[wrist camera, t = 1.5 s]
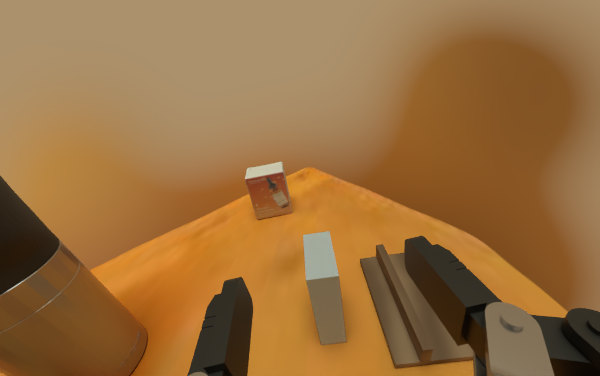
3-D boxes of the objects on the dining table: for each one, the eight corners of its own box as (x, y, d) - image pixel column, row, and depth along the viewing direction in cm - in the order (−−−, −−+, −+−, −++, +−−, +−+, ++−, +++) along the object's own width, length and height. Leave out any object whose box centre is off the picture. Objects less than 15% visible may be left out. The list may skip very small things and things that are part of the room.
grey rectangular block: (321, 345, 27) (306, 280, 20) (316, 297, 32) (303, 235, 26) (346, 342, 26) (338, 275, 20) (337, 295, 32) (329, 231, 25)
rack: (395, 368, 24) (397, 353, 22) (360, 262, 36) (359, 247, 34) (514, 355, 23) (525, 338, 21) (437, 251, 35) (440, 236, 33)
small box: (257, 220, 49) (243, 179, 44) (258, 206, 54) (246, 167, 49) (292, 213, 50) (283, 171, 44) (291, 199, 54) (282, 160, 49)
